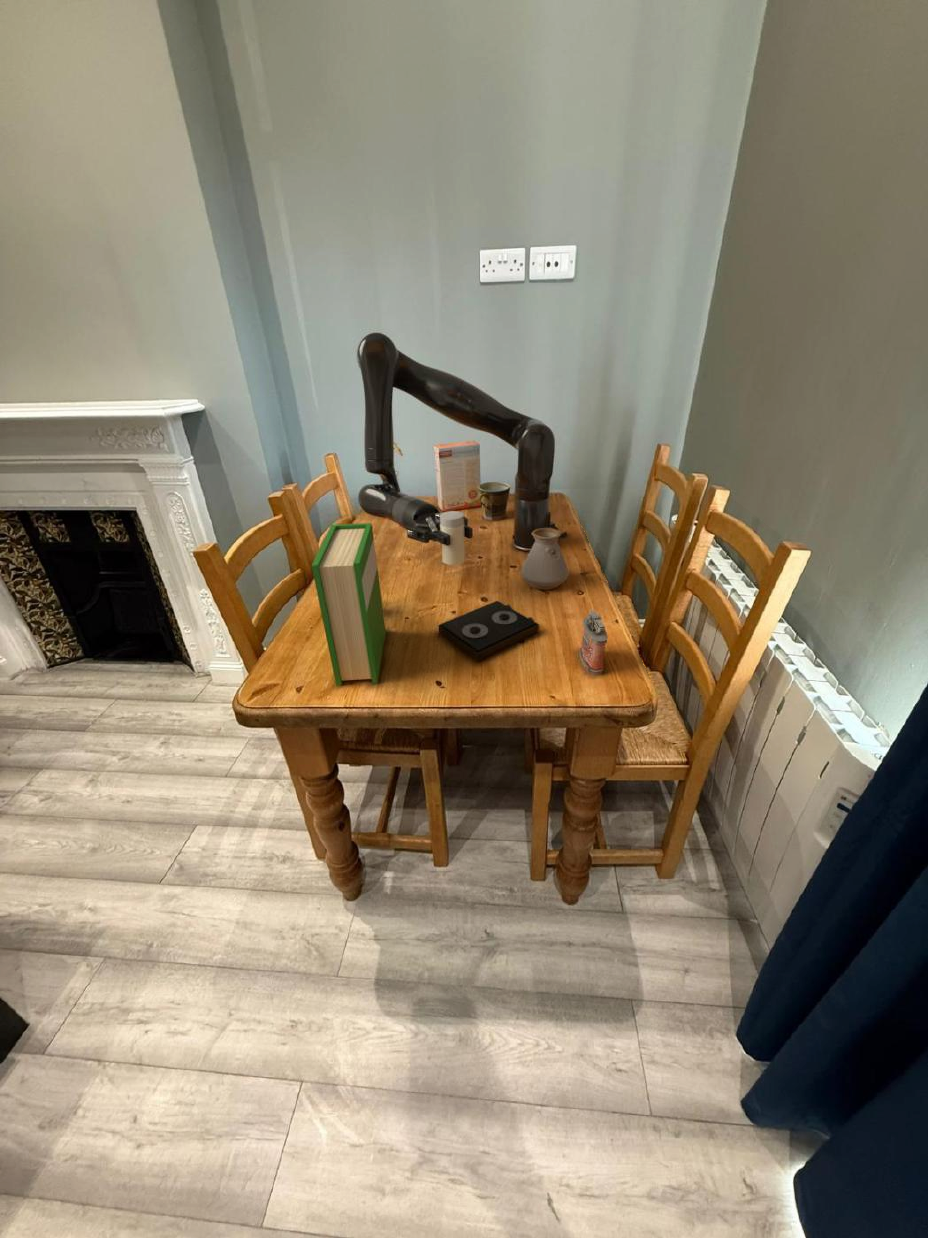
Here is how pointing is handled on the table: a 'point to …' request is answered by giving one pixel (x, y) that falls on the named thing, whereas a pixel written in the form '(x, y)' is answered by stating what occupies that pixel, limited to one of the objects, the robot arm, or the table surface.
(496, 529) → the table surface
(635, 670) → the table surface
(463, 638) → the stove
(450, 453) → the cracker box
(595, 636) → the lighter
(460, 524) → the salt shaker
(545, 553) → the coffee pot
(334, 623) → the hardback book
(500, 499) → the ceramic cup
